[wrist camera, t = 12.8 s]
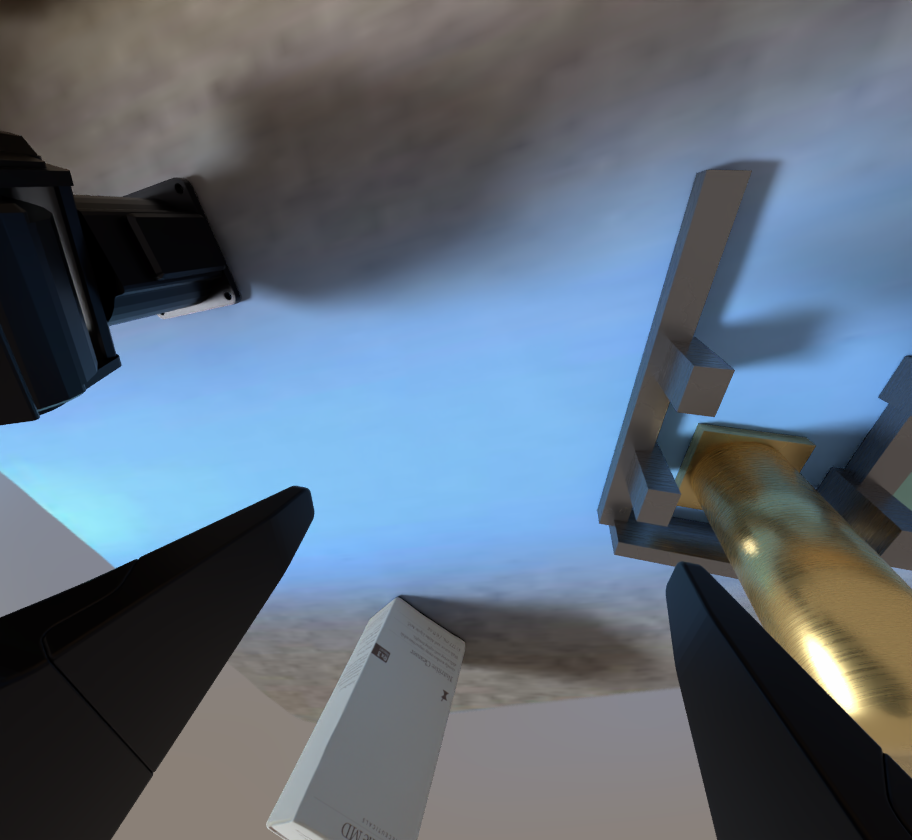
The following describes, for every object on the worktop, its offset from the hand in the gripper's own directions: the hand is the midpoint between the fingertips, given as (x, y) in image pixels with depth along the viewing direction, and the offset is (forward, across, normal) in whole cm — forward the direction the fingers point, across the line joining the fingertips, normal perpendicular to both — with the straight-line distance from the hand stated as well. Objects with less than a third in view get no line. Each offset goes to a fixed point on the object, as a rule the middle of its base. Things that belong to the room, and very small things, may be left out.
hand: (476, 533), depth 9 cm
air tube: (+13, -12, +5) cm, 18 cm away
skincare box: (+13, +7, +27) cm, 31 cm away
